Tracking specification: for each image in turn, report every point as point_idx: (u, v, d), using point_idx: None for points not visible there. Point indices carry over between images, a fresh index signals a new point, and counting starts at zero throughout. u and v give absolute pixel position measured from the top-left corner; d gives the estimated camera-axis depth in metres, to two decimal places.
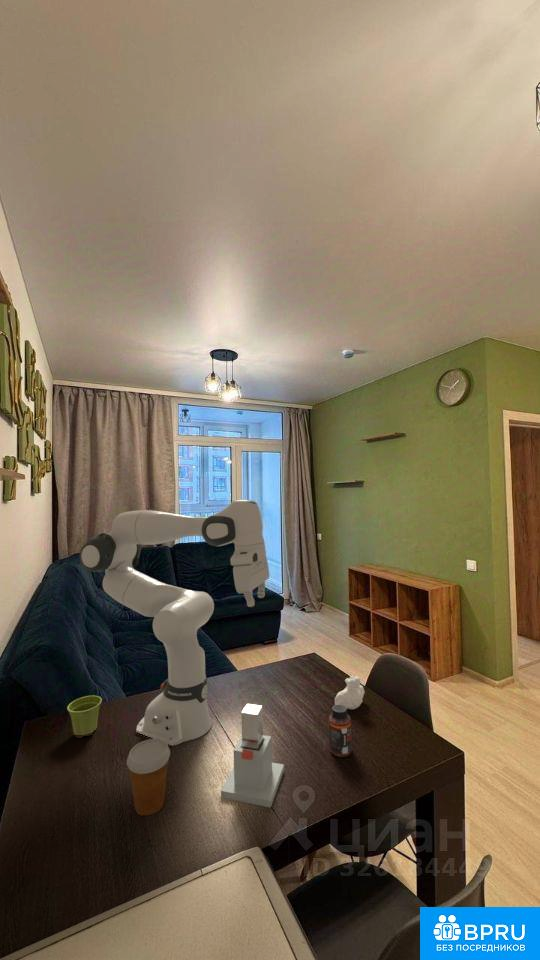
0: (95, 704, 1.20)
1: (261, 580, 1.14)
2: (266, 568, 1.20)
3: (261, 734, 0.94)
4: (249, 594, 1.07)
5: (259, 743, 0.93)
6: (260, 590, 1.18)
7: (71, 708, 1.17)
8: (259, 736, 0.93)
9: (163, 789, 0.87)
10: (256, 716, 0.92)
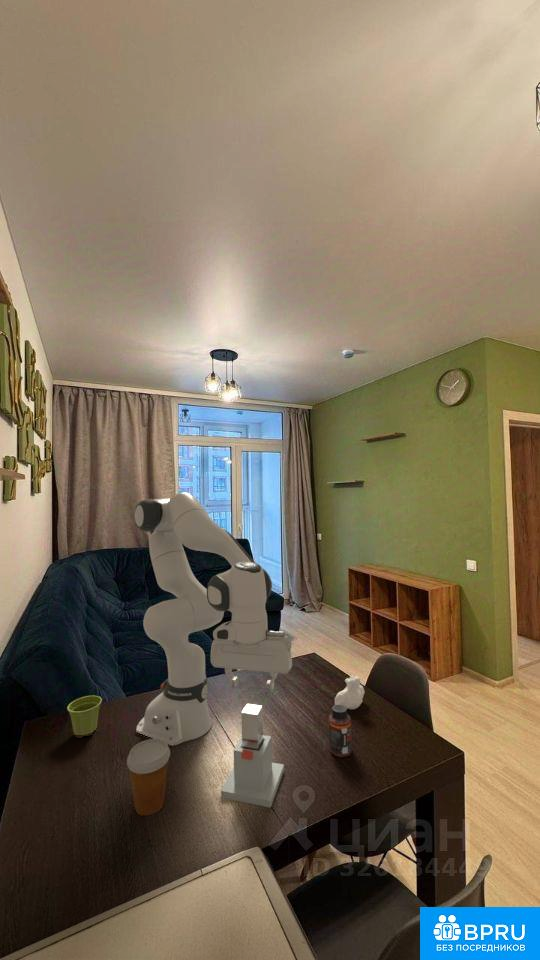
0: (95, 704, 1.20)
1: (253, 667, 0.93)
2: (277, 658, 0.91)
3: (261, 734, 0.94)
4: None
5: (259, 743, 0.93)
6: (270, 680, 0.93)
7: (71, 708, 1.17)
8: (259, 736, 0.93)
9: (163, 789, 0.87)
10: (256, 716, 0.92)
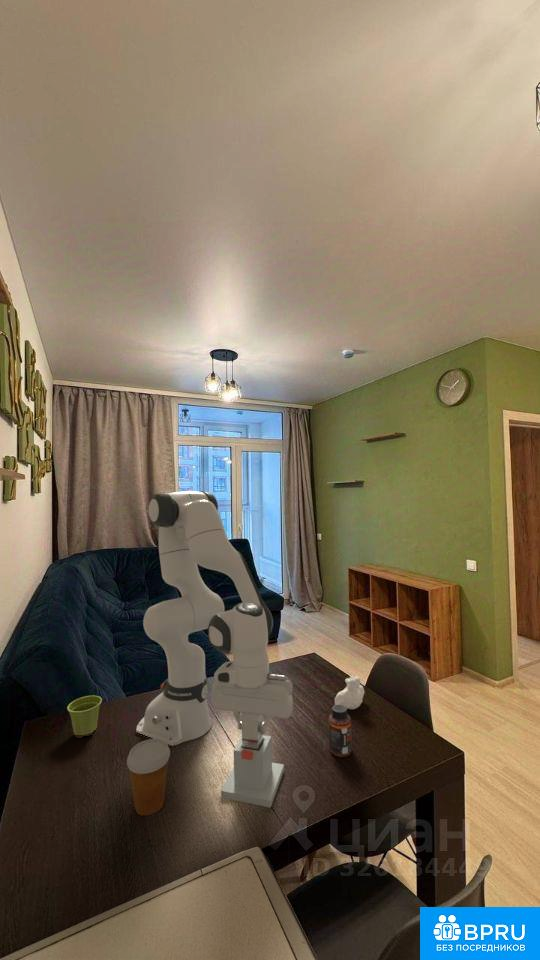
0: (95, 704, 1.20)
1: (254, 710, 0.92)
2: (278, 703, 0.91)
3: (261, 734, 0.94)
4: None
5: (259, 743, 0.93)
6: (263, 722, 0.94)
7: (71, 708, 1.17)
8: (259, 736, 0.93)
9: (163, 789, 0.87)
10: (256, 716, 0.92)
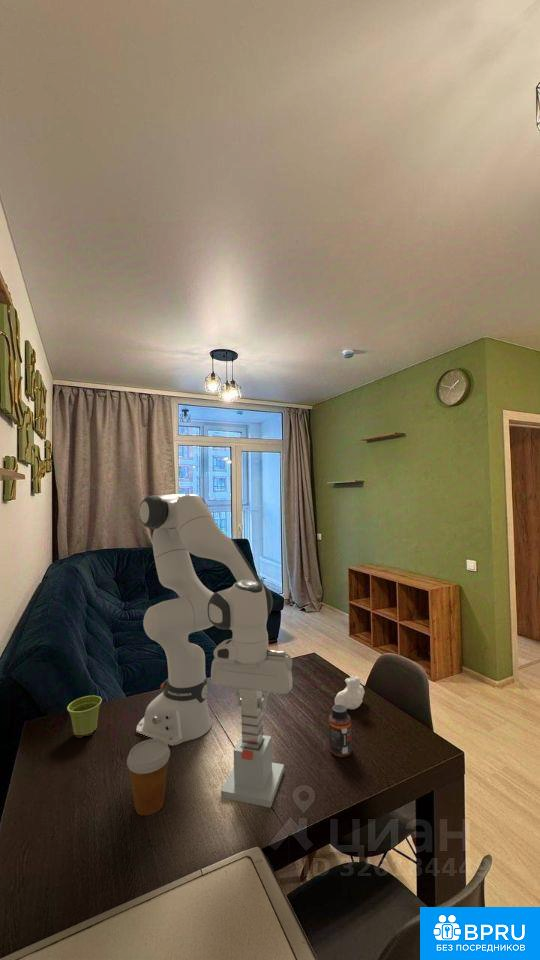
0: (95, 704, 1.20)
1: (254, 686, 0.93)
2: (278, 679, 0.91)
3: (260, 711, 0.95)
4: None
5: (258, 719, 0.93)
6: (263, 698, 0.94)
7: (71, 708, 1.17)
8: (259, 713, 0.93)
9: (163, 789, 0.87)
10: (255, 692, 0.92)
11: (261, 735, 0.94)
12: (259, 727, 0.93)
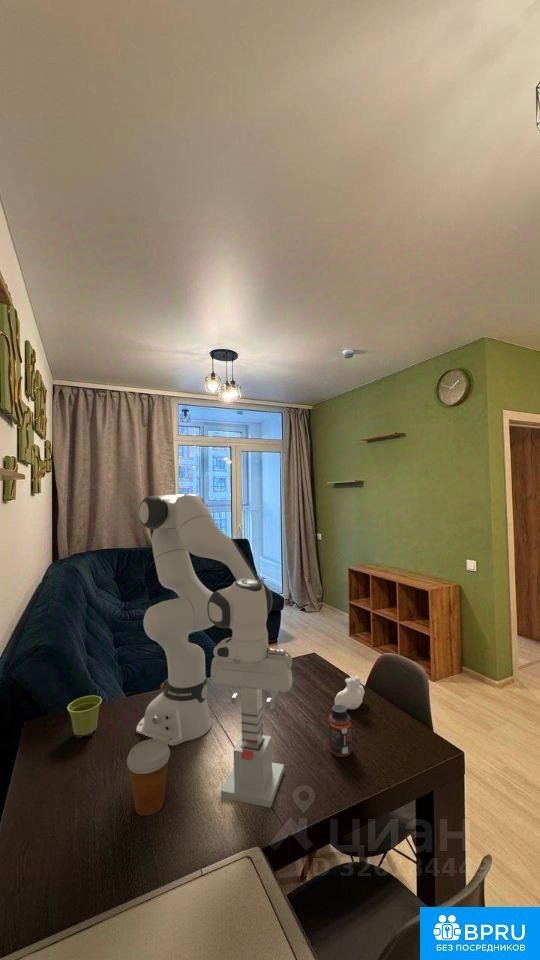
0: (95, 704, 1.20)
1: (253, 685, 0.93)
2: (278, 677, 0.91)
3: (260, 709, 0.95)
4: None
5: (258, 718, 0.93)
6: (271, 698, 0.93)
7: (71, 708, 1.17)
8: (259, 711, 0.93)
9: (163, 789, 0.87)
10: (255, 691, 0.92)
11: (261, 734, 0.94)
12: (259, 726, 0.93)
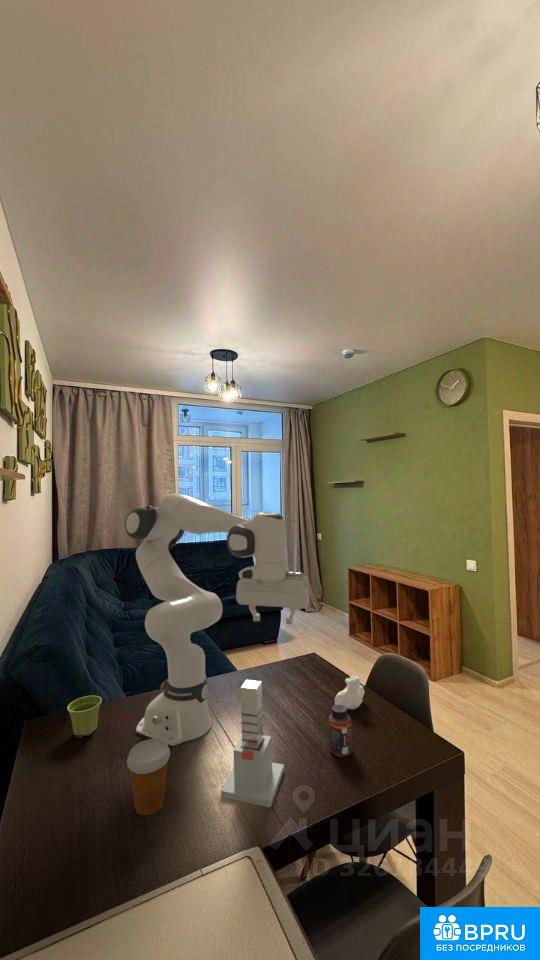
0: (95, 704, 1.20)
1: (275, 603, 1.04)
2: (296, 595, 1.02)
3: (260, 709, 0.95)
4: None
5: (258, 718, 0.93)
6: (290, 615, 1.04)
7: (71, 708, 1.17)
8: (259, 711, 0.93)
9: (163, 789, 0.87)
10: (255, 691, 0.92)
11: (261, 734, 0.94)
12: (259, 726, 0.93)
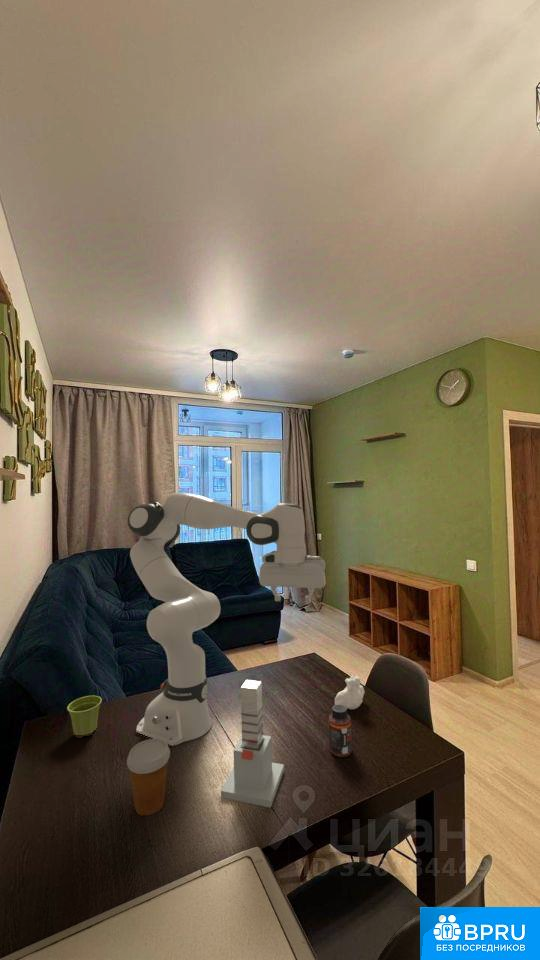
0: (95, 704, 1.20)
1: (295, 584, 1.16)
2: (315, 576, 1.14)
3: (260, 709, 0.95)
4: None
5: (258, 718, 0.93)
6: (308, 595, 1.17)
7: (71, 708, 1.17)
8: (259, 711, 0.93)
9: (163, 789, 0.87)
10: (255, 691, 0.92)
11: (261, 734, 0.94)
12: (259, 726, 0.93)
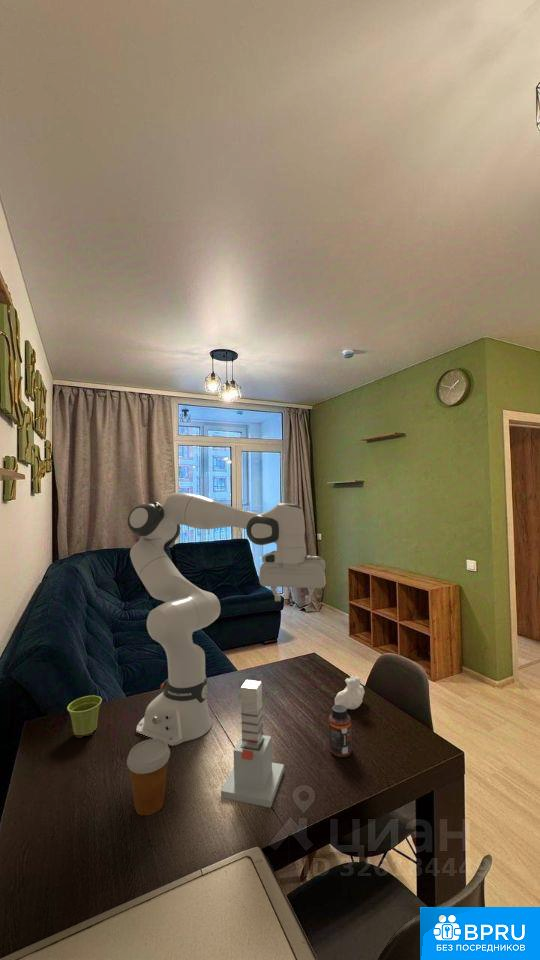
0: (95, 704, 1.20)
1: (295, 584, 1.16)
2: (315, 576, 1.14)
3: (260, 709, 0.95)
4: None
5: (258, 718, 0.93)
6: (308, 595, 1.17)
7: (71, 708, 1.17)
8: (259, 711, 0.93)
9: (163, 789, 0.87)
10: (255, 691, 0.92)
11: (261, 734, 0.94)
12: (259, 726, 0.93)
